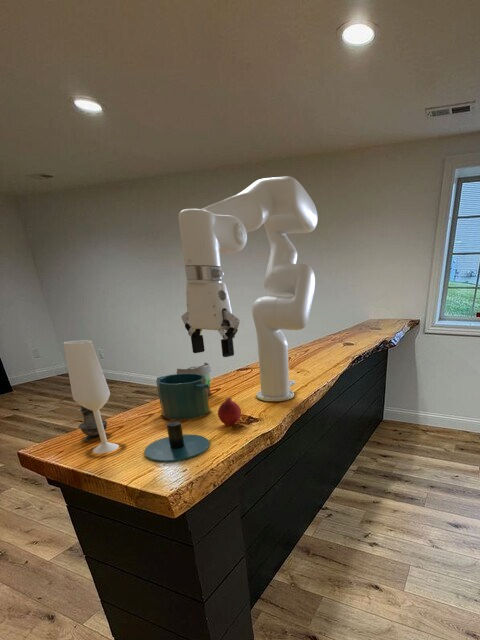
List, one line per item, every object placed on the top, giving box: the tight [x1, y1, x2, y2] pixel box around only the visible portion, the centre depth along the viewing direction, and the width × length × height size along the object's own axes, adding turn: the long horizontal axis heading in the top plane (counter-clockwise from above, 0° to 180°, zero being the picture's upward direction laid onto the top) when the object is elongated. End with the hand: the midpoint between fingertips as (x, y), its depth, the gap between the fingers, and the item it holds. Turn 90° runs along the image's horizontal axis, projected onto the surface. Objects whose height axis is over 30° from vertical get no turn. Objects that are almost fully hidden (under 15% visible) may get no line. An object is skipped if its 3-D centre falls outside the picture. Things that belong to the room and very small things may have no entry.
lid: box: [143, 420, 210, 463], centre depth 77 cm, size 14×14×7 cm
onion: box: [217, 396, 242, 427], centre depth 91 cm, size 6×6×8 cm
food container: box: [176, 362, 212, 397], centre depth 116 cm, size 12×6×10 cm, turn 150°
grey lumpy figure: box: [78, 405, 108, 442], centre depth 82 cm, size 6×6×12 cm
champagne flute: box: [62, 339, 120, 454], centre depth 74 cm, size 7×7×24 cm
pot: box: [156, 373, 210, 421], centre depth 99 cm, size 13×18×10 cm
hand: (213, 354), depth 83 cm, fingers open, 9 cm apart
